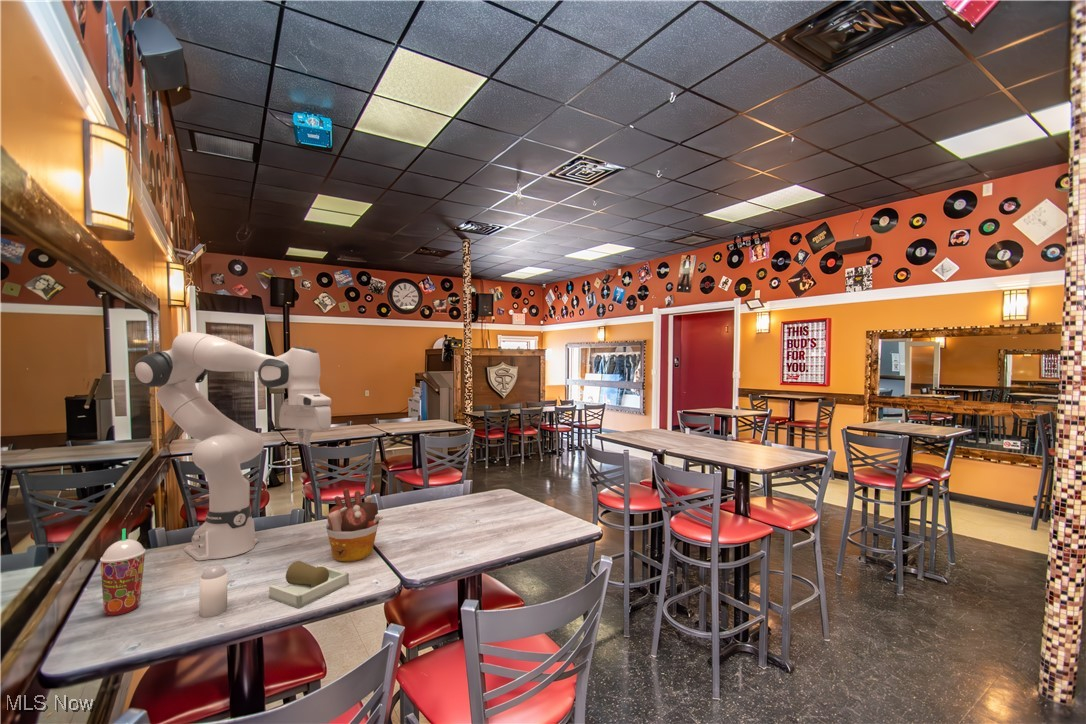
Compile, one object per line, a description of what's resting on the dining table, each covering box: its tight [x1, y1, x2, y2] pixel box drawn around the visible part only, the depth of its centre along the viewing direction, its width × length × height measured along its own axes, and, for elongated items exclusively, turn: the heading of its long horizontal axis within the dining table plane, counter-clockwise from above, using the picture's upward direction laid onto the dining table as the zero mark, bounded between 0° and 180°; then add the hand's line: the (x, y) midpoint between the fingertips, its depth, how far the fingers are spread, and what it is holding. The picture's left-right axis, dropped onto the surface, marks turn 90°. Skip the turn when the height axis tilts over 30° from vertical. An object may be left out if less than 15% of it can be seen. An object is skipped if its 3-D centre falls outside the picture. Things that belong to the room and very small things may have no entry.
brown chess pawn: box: [285, 560, 329, 587], centre depth 126 cm, size 6×6×11 cm
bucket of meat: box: [326, 487, 384, 563], centre depth 148 cm, size 20×16×20 cm
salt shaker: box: [198, 564, 229, 619], centre depth 113 cm, size 6×6×11 cm
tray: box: [268, 564, 350, 609], centre depth 124 cm, size 12×15×3 cm
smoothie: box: [99, 528, 146, 617], centre depth 114 cm, size 8×8×20 cm
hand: (303, 443), depth 142 cm, fingers closed
